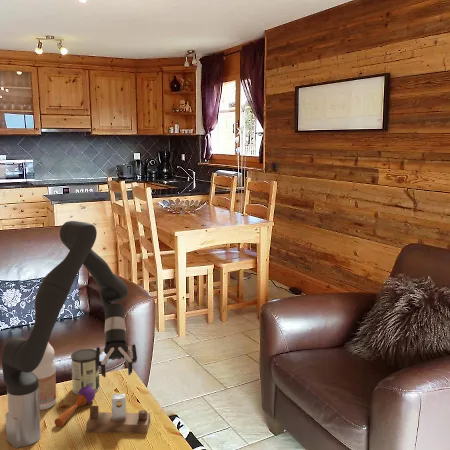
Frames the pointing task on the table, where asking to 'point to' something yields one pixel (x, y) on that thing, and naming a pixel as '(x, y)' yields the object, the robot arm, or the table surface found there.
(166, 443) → the table surface
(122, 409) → the lever cap
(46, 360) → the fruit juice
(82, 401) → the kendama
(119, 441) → the table surface
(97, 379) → the coffee can
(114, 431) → the plane body
